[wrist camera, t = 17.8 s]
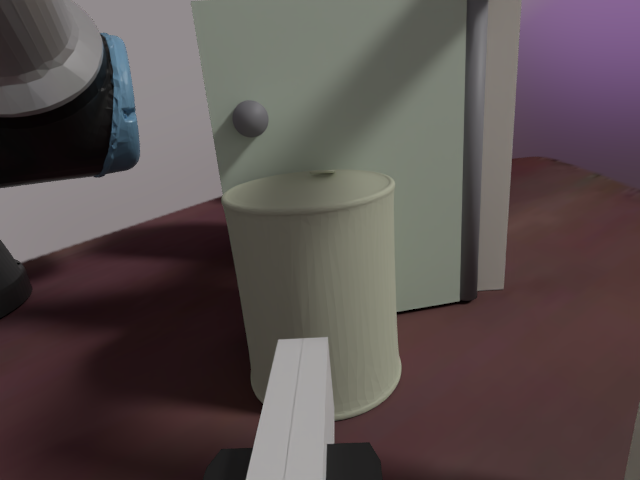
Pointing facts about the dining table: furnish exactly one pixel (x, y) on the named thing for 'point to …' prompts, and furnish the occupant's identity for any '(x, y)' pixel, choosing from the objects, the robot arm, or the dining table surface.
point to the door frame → (507, 161)
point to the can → (320, 276)
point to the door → (361, 113)
